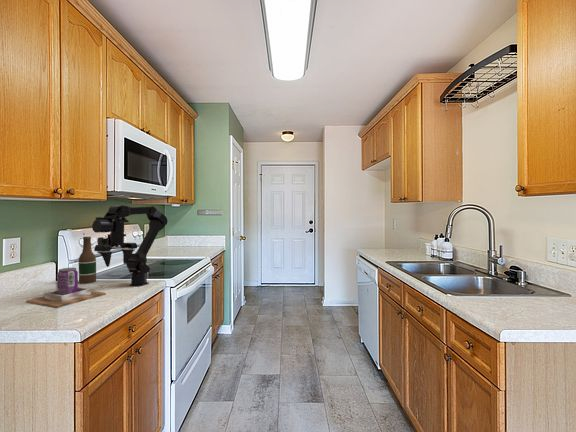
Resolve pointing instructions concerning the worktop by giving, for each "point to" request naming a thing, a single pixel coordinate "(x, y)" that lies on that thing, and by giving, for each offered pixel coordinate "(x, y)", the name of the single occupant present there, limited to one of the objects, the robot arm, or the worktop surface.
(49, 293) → the can holder
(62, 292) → the beverage can
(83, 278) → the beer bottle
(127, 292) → the worktop surface
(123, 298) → the worktop surface
